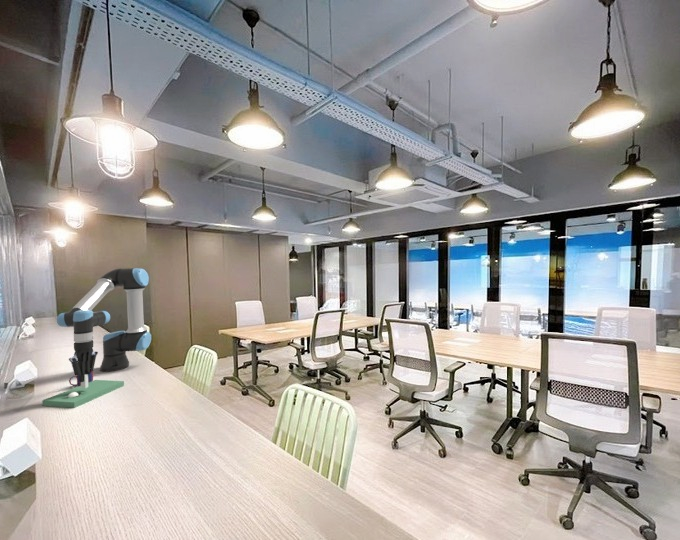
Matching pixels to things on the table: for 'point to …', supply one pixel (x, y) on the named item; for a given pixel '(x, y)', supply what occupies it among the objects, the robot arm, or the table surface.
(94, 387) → the green
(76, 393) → the ball
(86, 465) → the table surface
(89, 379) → the mug
